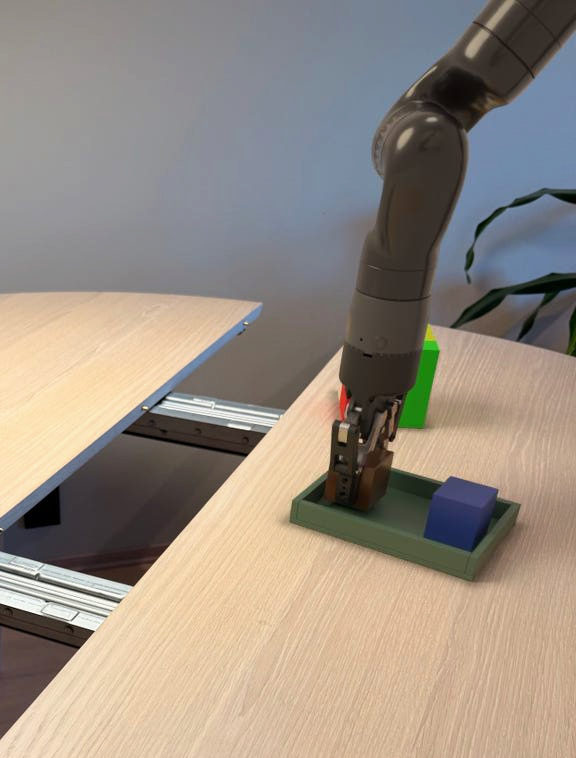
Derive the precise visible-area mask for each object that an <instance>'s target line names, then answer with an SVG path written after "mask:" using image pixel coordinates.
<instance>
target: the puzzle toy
mask: <svg viewBox="0 0 576 758" xmlns="http://www.w3.org/2000/svg"><path fill="white" fill-rule="evenodd" d="M440 352H441V350H440V347H439V344H438V343H437V340H436V338H435V335H434V333H433V330H432V327H431V325H430V323H429V322H428V326H427V331H426V336H425V341H424V345H423V350H422V355H421V360H420V364H419V369H418V374H417V379H416V384H415V386H414V387H413V389H411V390H410V391H409V392H408V394H407V397H406V400H405V404H404V407H403V411H402V414H401V418H400V422H399V425H398V428H409V429H410V428H411V429H424V426H425V422H426V417H427V412H428V408H429V402H430V398H431V394H432V389H433V385H434V380H435V376H436V375H435V374H436V371H437V366H438V361H439V356H440ZM351 397H352V393H351V391H350V390H349V389H348V388H347V387H346V386H344V385H343V384H342V383H341V382H340V381H339V382H338V390H337V398H338V404H339V405H338V406H339V410H340V417H341V421H344V420H345V417H344V413H345V410H346V407H347V404H348V402H349V401H350V400H351Z"/></svg>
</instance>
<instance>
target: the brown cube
mask: <svg viewBox="0 0 576 758" xmlns="http://www.w3.org/2000/svg"><path fill="white" fill-rule="evenodd" d="M359 443H361V444H364V443H362V442H360V441H359ZM394 455H395V452H394V451H393V450H389V449H388V450H386V449H382V448H379V447H374V450H373V452H372V453H370V454H368V455H367V457H366V460H365V463H364V467H363V471H362V473H361V479H360V485H359V490H358V496H357V501H356V503H355V504H354V505H353V506H351V507H354V508H357V509H360V510H363V511H368V510H369V509H370V508H371V507H372V506H373V505H375V504H376V503H377V502H378V501H379V500H380V499H381V498H382V497H383V496H384V495H385V494H386V490H387V486H388V481H389V476H390V471H391V467H393V466H392V465H393V461H394ZM358 456H359V452H358ZM346 460H348V458H347V459H346ZM328 463H329V464H328V469H327V471H328V475H327V481H326V488H325V494H324V498H325V499H328V500H331V501H334V502H336V501H335V492H336V486H337V480H338V474H339V472H334V471H331V470H330V462H328Z"/></svg>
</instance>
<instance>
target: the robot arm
mask: <svg viewBox="0 0 576 758" xmlns="http://www.w3.org/2000/svg"><path fill="white" fill-rule="evenodd" d="M575 33H576V0H488V2H487V3H486V4H485V5H484V6H483V8H482V9H481V10H480V11H479V12H478V14H477V15H476V16H475V17H474V19H473V20H472V22H471V23H470V24H469V25H468V26H467V28H466V29H465V30H464V32H463V33H462V35H461V36H460V37H459V38H458V40H457V41H456V42H455V43H454V45H453V46H452V47H451V48H449V49H448V50H447V52H445V54H443V55H442V56H441V57H440V58H439V59H438V60H436V61H435V62H434V63H433V64H432V65H431V66H430V67H429V68H428V69H427V70H425V72H424V73H423V74H422V75H420V77H419V78H418V79H416V81H414V82H413V83H412V85H410V86H409V88H407V89H406V90H405V92H403V94H402V95H401V96H399V98H398V99H397V100H396V101H395V103H393V105H392V106H391V107H390V108H389V110H387V112H386V114H385V115H384V116H383V118H382V119H381V121H380V123H379V125H378V127H376V130H375V132H374V134H373V138H372V142H371V148H370V153H371V154H370V155H371V163H372V165H373V169H374V170H375V173H377V175H378V177H379V178H381V179H382V181H383V182H382V189H381V195H380V198H379V199H380V200H379V205H378V209H377V214H376V218H375V223H374V224H373V225H371V226H370V227H369V228H368V230H367V231H366V233H365V236H364V239H363V242H362V246H361V252H360V256H359V262H358V263H359V264H358V269H357V275H356V281H355V287H354V293H353V295H352V298H351V302H350V305H349V309H348V313H347V321H346V327H345V333H344V339H343V344H342V351H341V359H340V365H339V370H338V379H339V382H341V383H342V384H343V385H344V386H346V387H347V388H348V389H349V390H350V391H351V393H352V397H351V400H350V401H349V402H348V404H347V407H346V410H345V413H344V417H345V420H344V421H342V420H339V419H334V421H333V423H332V424H331V433H330V434H331V436H330V450H329V451H330V453H329V463H330V470H331V471H334V472H339V474H338V480H337V486H336V492H335V501H336V502H337V503H339V504H343V505H346V506H349V507H351V506H353V505H354V504H355V503H356V501H357V496H358V490H359V485H360V479H361V473H362V471H363V467H364V463H365V460H366V457H367V455H368V454H370V453H372V452H373V450H374V447H379V448H382V449H386V450H389V443H393V442H394V441H395V440H396V438H397V432H398V428H399V427H398V425H399V422H400V418H401V414H402V411H403V407H404V404H405V400H406V397H407V394H408V392H409V391H410V390H411V389H413V387H414V386H415V384H416V379H417V374H418V369H419V364H420V360H421V355H422V350H423V345H424V341H425V336H426V331H427V326H428V323H429V320H430V312H431V298H432V292H433V288H434V283H435V278H436V273H437V269H438V263H439V258H440V251H441V246H442V243H443V239H444V237H445V236H446V233H447V231H448V229H449V227H450V224H451V221H452V219H453V216H454V213H455V211H456V209H457V205H458V203H459V200H460V197H461V195H462V192H463V189H464V185H465V182H466V177H467V173H468V167H469V160H470V143H469V135H468V133H470V132H471V131H472V130H473V129H474V127H476V125H477V124H479V122H481V121H482V120H483V118H485V116H486V115H487V114H489V113H490V112H492V111H493V110H495V109H499V108H502V107H505V106H508V105H509V104H511V103H513V102H514V101H515V100H516V99H517V98H519V97H520V96H521V95H522V94H523V93H524V91H525V90H526V89H527V88H528V87H529V86H530V85H531V84H532V83H533V82H534V80H535V79H536V78H538V76H539V75H540V74H541V73H542V71H543V70H544V69H545V68H546V67H547V66H548V64H549V63H550V62H551V61H552V60H553V59H554V57H556V55H557V54H558V53H559V52H560V51H561V50H562V48H563V47H564V46H565V45H566V44H567V43H568V41H570V39H571V38H573V36H574V34H575ZM360 440H362V441H361V442H360ZM359 442H360V443H359ZM361 443H364V444H361ZM358 452H359V456H358ZM347 458H348V460H346V459H347Z"/></svg>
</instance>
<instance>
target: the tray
mask: <svg viewBox="0 0 576 758" xmlns="http://www.w3.org/2000/svg"><path fill="white" fill-rule="evenodd" d="M327 475H328V470H326V471H325V472H323V474H321V476H319V477H318V478H317V479H316V480H314V481H313V482H312V483H311V484H310V485H308V486H307V487H306V488H305V489H303V490H302V491H301V492H299V494H298V495H296V496H295V497H294V498H293V499H291V503H290V504H291V505H290V512H289V519H288V522H289V523H292V524H295V525H298V526H302V527H305V528H306V529H311V530H313V531H316V532H320V533H323V534H325V535H328V536H332V537H335V538H338V539H341V540H343V541H347V542H350V543H353V544H356V545H360V546H363V547H365V548H368V549H371V550H373V551H374V550H375V551H377V552H381V553H383V554H387V555H390V556H393V557H396V558H399V559H402V560H405V561H408V562H411V563H415V564H417V565H420V566H424V567H427V568H430V569H432V570H436V571H439V572H441V573H445V574H448V575H450V576H455V577H457V578H460V579H463V580H466V581H468V582H473V580H474V579H475V578H476V576H477V575H478V574H479V572H481V570H482V569H483V568H484V566H485V565H486V563H487V562H488V561H489V560H490V558H491V557H492V556H493V554H494V553H495V552H496V551H497V550H498V548H499V547H500V545H501V544H502V543H503V542H504V540H505V539H506V538H507V537H508V535H509V534H510V532H511V531H512V530H513V529H514V528H515V526H516V524H517V520H518V517H519V514H520V510H521V508H522V507H521V506H522V504H521V503H519V502H517V501H512V500H509V499H506V498H502V497H499V496H497V499H496V502H495V506H494V509H493V513H492V517H491V520H490V524H489V527H488V531H487V533H486V534H485V535H484V537H483V538H482V539H481V540H480V542H479V543H478V544H477V545H476V547H475V548H474V549H473V550H472V552H469V551H466V550H463V549H460V548H456V547H453V546H450V545H447V544H443V543H440V542H437V541H434V540H431V539H427V538H424V537H423V535H424V531H425V527H426V522H427V518H428V514H429V510H430V505H431V501H432V497H433V494H434V493H435V492H436V491H437V489H438V488H439V487H440V486H441V485H442V484H443V483H444V482H445V481H441V480H438V479H434V478H431V477H427V476H424V475H420V474H417V473H413V472H410V471H406V470H402V469H399V468H396V467H393V466H391V471H390V476H389V481H388V486H387V490H386V494H385V495H384V496H383V497H382V498H381V499H380V500H379V501H378V502H377V503H376V504H375V505H373V506H372V507H371V508H370V509H369V510H368V511H363V510H360V509H357V508H354V507H349V506H346V505H343V504H339V503H337V502H334V501H331V500H328V499H325V498H324V494H325V488H326V481H327Z"/></svg>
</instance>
